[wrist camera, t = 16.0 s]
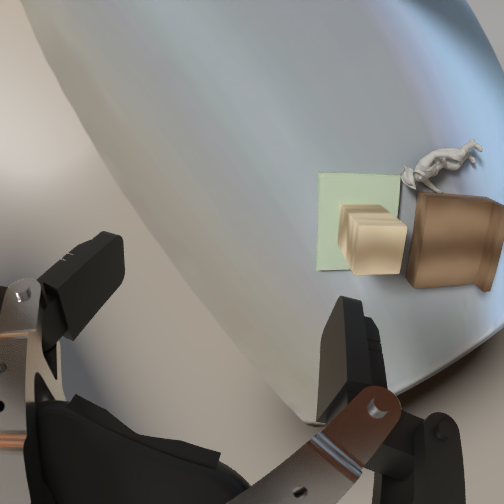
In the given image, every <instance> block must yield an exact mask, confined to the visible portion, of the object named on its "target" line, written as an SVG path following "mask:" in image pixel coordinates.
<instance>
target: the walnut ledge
mask: <svg viewBox="0 0 504 504" xmlns="http://www.w3.org/2000/svg"><path fill="white" fill-rule="evenodd" d="M503 241H504V205H502V204H500V203H498V202H496V201H494V200H492V199H489V198H487V197H480V196H469V195H458V194H445V193H442V194H438V193H430V192H418V193H417V203H416V212H415V221H414V229H413V236H412V243H411V249H410V255H409V261H408V267H407V272H406V277H405V278H406V279H407V280H408V282H409V283H410V284H411V286H412V287H413V288H427V287H440V286H452V285H463V284H474V283H475V284H476V285H477V286H478V287H479V288H480V289H481V290H482V291H483V292H487V291H490V290H491V287H492V283H493V280H494V277H495V273H496V269H497V266H498V262H499V258H500V254H501V250H502V246H503Z"/></svg>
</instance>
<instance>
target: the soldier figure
mask: <svg viewBox="0 0 504 504" xmlns="http://www.w3.org/2000/svg"><path fill="white" fill-rule="evenodd" d="M472 147H474V148H476V149H477V150H478V151H480V152H482V147H481V146H480V145H479V144H477V143H475V140H474V139H470V141H469V142H468V143H466V144H465V145H463V146H462V147H461V148H460V149H459V148H458V149H457V148H442V149H437V150H435V151H432V152H431V153H430V154H428V155H426V156H425V157H423V158H422V159H421V160H420V161H419V162H418V164H416V167H415V170H412V169H413V168H412V169H411V167H410V168H407V166H406V165H404V167H403V171H402V174H401V179H402V181H403V183H405V184H406V185H407V186H409V187H411V188H413V189H416V185H415V180H416V181H418V182H422V183H424V184H425V185H426V186H428V187H429V188H430V189H432V190H433V191H435V192H436V193H438V194H442V193H443V192H442V190H438V189H437V188H435V187H434V185H433V184H432V182H430V180H429V179H428V178H430V177H431V176H436V175H437V174H438V171H439V170H440V169H442V168H445V169H448V170H458V169H459V168H460V167H461V165H462V164H463V162H464V161H465V160H466V159H469V160H470V161H471V162H472V163H473V164H475V163H476V160H475V158H474V157H473V156H471V155H470V154H469V150H470V149H471V148H472ZM452 159H453V160H452ZM455 160H456V161H455ZM413 171H414V172H413ZM414 177H415V180H414Z"/></svg>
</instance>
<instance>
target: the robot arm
mask: <svg viewBox="0 0 504 504" xmlns="http://www.w3.org/2000/svg"><path fill="white" fill-rule="evenodd" d="M124 275H125V265H124V247H123V239H122V237H121V236H119V235H116V234H112V233H109V232H105V231H103V232H101V233H99V234H98V235H97V236H96V237H94V238H93V239H92V240H89V241H86V242H84V243H82V244H79V245H78V246H76V247H75V248H74V249H73V250H71V251H70V252H69V254H66V255H65V256H64V257H63V258H62V260H59V261H58V262H57V263H55V264H54V265H53V266H52V267H51V268H50V269H48V270H47V271H46V272H45V273H44V274H43V275H42V276H40V277H39V278H38V279H37V280H35V279H31V278H24V279H20V280H18V281H16V282H14V283H13V284H11V285H10V286H9V287H3V286H0V504H336V503H337V502H338V501H339V500H340V499H341V498H342V497H343V496H344V495H345V494H346V493H347V491H348V490H349V489H350V488H351V487H352V486H353V485H354V484H355V482H356V481H357V480H358V479H359V477H360V476H361V474H362V472H361V469H362V468H363V467H364V468H366V469H369V470H372V471H374V472H375V473H374V487H373V497H372V504H466V501H465V500H466V499H465V479H464V466H463V456H462V447H461V440H460V433H459V429H458V426H457V424H456V422H455V421H454V420H453V419H452V418H451V417H450V416H449V415H447V414H445V413H441V412H436V413H433V414H431V415H429V416H428V417H427V418H426V419H425V420H424V419H421V418H419V417H416V416H414V415H411V414H409V413H407V412H405V411H403V410H401V405H400V403H399V400H398V399H397V397H396V396H395V395H394V394H393V393H392V392H391V391H390V390H388V388H387V381H386V373H385V366H384V359H383V353H382V347H381V344H380V335H379V330H378V328H377V326H376V325H375V323H374V322H373V320H372V318H369V317H365V316H364V313H363V306H362V302H361V300H356V299H352V298H348V297H344V296H340V297H339V298H338V300H337V302H336V304H335V306H334V308H333V311H332V313H331V315H330V317H329V319H328V321H327V324H326V326H325V328H324V331H323V334H322V338H321V346H320V369H319V387H318V403H317V416H316V422H321V423H326V427H325V428H324V429H323V430H322V431H321V432H320V433H319V434H317V435H315V436H313V437H312V438H311V439H310V440H309V441H308V442H306V443H305V444H304V445H303V446H302V447H301V448H300V449H298V450H297V451H296V452H295V453H294V454H292V455H291V456H290V457H289V458H288V459H286V460H285V461H284V462H283V463H281V464H280V465H279V466H278V467H276V468H275V469H274V470H272V471H271V472H270V473H269V474H267V475H266V476H265V477H263V478H262V479H261V480H259V481H258V482H257V483H255V484H254V485H252V486H250V485H249V483H248V482H247V481H246V480H245V479H244V478H243V477H242V476H241V475H239V474H238V473H237V472H236V471H235V470H233V469H232V468H230V467H229V466H227V465H225V464H223V463H221V462H220V461H219V458H220V455H221V453H220V452H216V451H213V450H209V449H205V448H202V447H199V446H196V445H193V444H190V443H187V442H184V441H180V440H171V439H164V438H157V437H150V436H144V435H139V434H137V433H135V432H134V431H132V430H131V429H130V428H128V427H127V426H126V425H124V424H123V423H122V422H120V421H119V420H118V419H117V418H116V417H114V416H113V415H112V414H110V413H109V412H108V411H107V410H105V409H103V408H101V407H99V406H97V405H95V404H93V403H92V402H90V401H88V400H86V399H84V398H82V397H80V396H78V395H77V394H76V395H75V396H74V397H73V399H72V400H71V402H69V401H66V399H65V396H64V393H63V389H62V379H61V358H60V343H59V339H60V338H61V337H62V336H64V337H66V338H68V339H70V340H72V341H74V340H75V338H76V337H77V336H78V335H79V333H80V332H81V331H82V330H83V329H84V327H85V326H86V325H87V324H88V322H89V321H90V320H91V319H92V318H93V316H94V315H95V314H96V313H97V312H98V310H99V309H100V308H101V307H102V306H103V305H104V303H105V302H106V301H107V300H108V299H109V298H110V296H111V295H112V294H113V293H114V292H115V291H116V290H117V288H118V287H119V286H120V285H121V283H122V281H123V279H124Z"/></svg>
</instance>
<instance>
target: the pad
mask: <svg viewBox="0 0 504 504" xmlns="http://www.w3.org/2000/svg"><path fill="white" fill-rule="evenodd" d="M400 178H401V176H400V175H395V174H376V173H348V172H318V222H317V251H316V270H348V269H350V267H349V265H348V263H347V261H346V259H345V257H344V255H343V253H342V251H341V250H340V248H339V246H338V244H337V242H338V230H339V216H340V203H349V204H377V205H381V206H383V207H384V208H385V209H386V210H388V211H389V212H390V213H391V214H393V215H394V216H395V217H396V218H397V215H398V205H399V193H400Z"/></svg>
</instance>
